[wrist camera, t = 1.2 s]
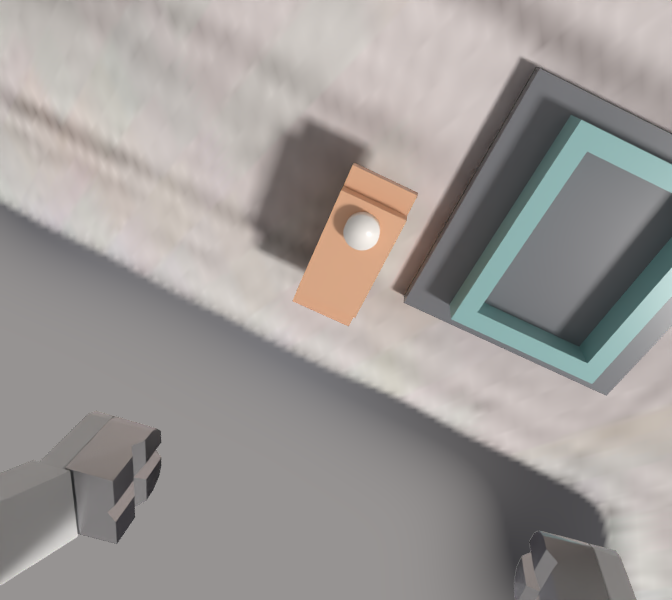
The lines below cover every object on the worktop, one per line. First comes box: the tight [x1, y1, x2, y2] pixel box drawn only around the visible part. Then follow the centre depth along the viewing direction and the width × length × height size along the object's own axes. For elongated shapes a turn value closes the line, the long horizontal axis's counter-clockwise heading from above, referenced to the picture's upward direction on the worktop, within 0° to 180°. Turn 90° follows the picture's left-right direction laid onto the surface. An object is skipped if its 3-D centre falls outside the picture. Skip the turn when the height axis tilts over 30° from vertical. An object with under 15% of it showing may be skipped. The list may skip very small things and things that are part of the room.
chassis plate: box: [404, 68, 672, 396], centre depth 30 cm, size 16×16×3 cm
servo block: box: [293, 163, 418, 326], centre depth 31 cm, size 4×10×6 cm, turn 157°
